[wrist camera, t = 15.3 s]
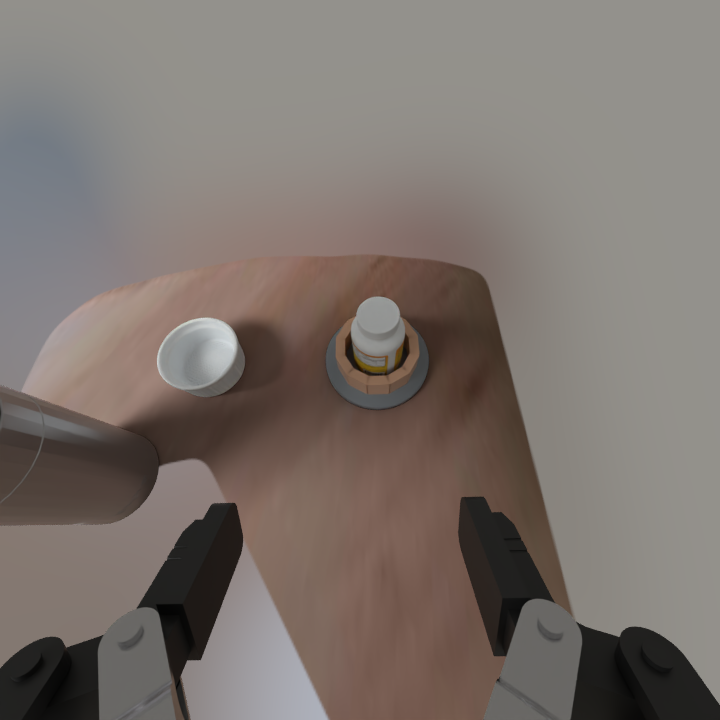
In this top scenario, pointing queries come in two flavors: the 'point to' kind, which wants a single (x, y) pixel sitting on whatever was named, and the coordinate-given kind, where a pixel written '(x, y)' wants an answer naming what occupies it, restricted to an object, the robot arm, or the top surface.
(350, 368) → the holder
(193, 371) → the ramekin
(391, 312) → the supplement bottle
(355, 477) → the top surface
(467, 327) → the top surface
